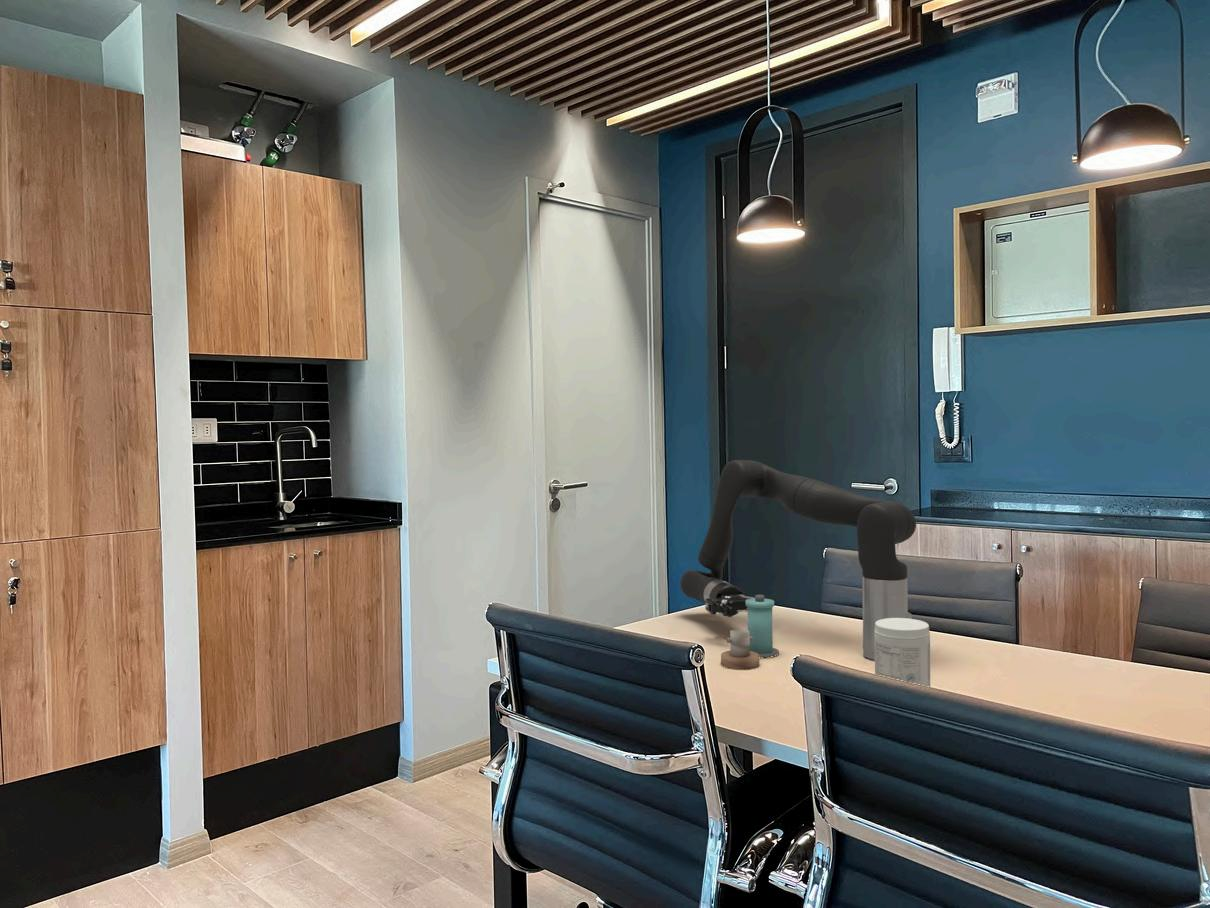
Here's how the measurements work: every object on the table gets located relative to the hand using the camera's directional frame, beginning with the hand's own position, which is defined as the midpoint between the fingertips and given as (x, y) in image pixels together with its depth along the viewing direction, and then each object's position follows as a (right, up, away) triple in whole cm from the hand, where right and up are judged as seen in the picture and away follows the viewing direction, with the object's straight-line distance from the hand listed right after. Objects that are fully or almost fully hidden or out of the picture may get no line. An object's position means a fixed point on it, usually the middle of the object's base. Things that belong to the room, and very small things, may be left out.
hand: (748, 611), depth 205 cm
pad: (+2, -8, -6) cm, 10 cm away
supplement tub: (+21, -10, -42) cm, 48 cm away
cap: (+2, -8, -6) cm, 10 cm away
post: (-4, -9, -14) cm, 17 cm away
